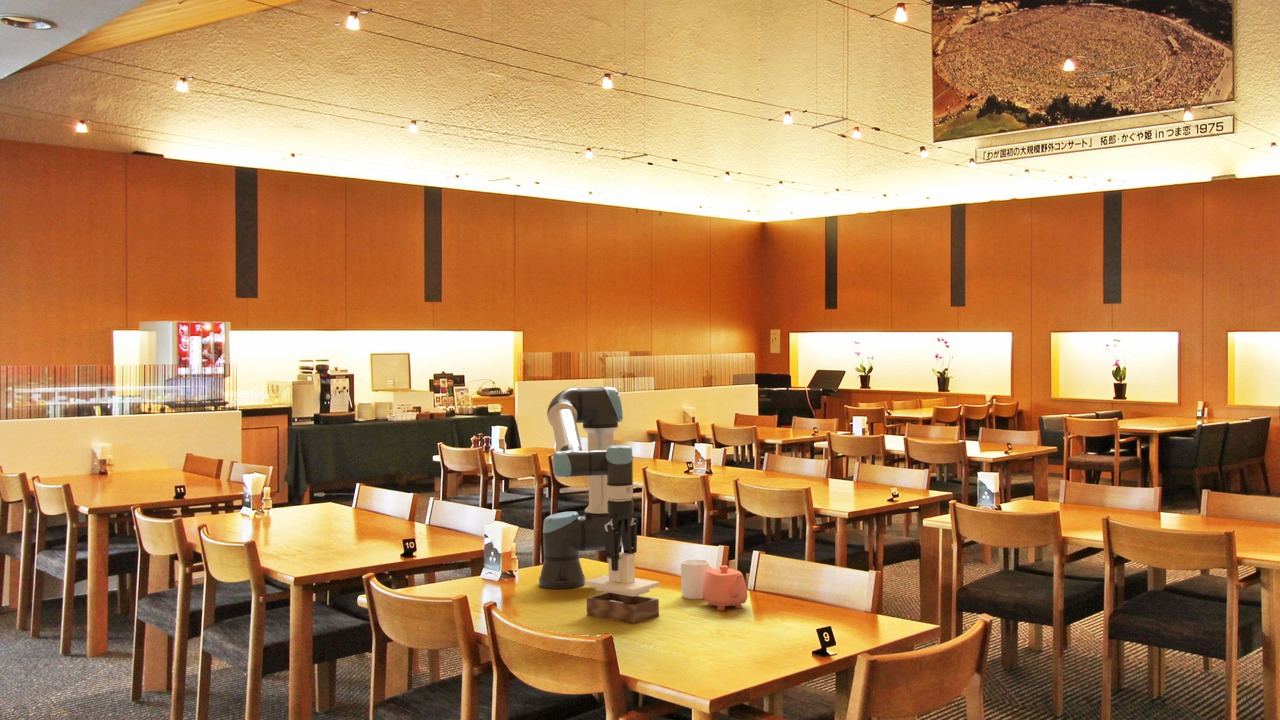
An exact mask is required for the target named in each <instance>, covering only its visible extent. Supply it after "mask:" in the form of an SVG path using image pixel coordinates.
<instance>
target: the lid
mask: <svg viewBox="0 0 1280 720" xmlns="http://www.w3.org/2000/svg"><path fill="white" fill-rule="evenodd" d="M635 554H636V553H633V554H629V553H624V551H623V552H621V551H620V552H619V559H621V582H615V581H613V570H612V567H611V566H612V565H611V559H609V558H607V559H608V560H607V561H608V574H605V575H602V576H599V577H594V578H592V579H588V580H585V584H584V586H588V587H593V588H594V590H595V591H598V592H599V591H600V592H603V593H606V592H610V593H615V594H621V595H626V596H631V597H634V596H637V595H639V596H641V595H643V594H646V593H649V592H650V590H652V589H654V588H657V587H658V588H659V587H660V584H661V583H660V582H661V581H656V580H649V579H645V578H638V577H636V562H635V561H636V559H635V557H636V556H635Z"/></svg>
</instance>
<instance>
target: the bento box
mask: <svg viewBox="0 0 1280 720" xmlns="http://www.w3.org/2000/svg"><path fill="white" fill-rule="evenodd" d="M659 602H660V600H659V598H655V597H650V596H643V595H637V596H634V597H631V596H626V595H621V594H615V593H610V592H603V593H600V594H596V595H593V596H592V595H591V596H587V597H586V616H590V617H596V618H601V619H606V620H610V621H616V622H621V623H626V624H631V625H636V624H638V623H639V624H640V623H643V622H645V621H650V620H652V619H655V618H658V617H660V609H659V608H660V603H659Z"/></svg>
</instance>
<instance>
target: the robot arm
mask: <svg viewBox="0 0 1280 720" xmlns="http://www.w3.org/2000/svg"><path fill="white" fill-rule="evenodd" d="M551 399H552V400H551V401H550V403H549V404H548V407H547V411H546V415H547V420H548V423H549V424H550V426H551V427H552V431H553V436H554V441H555V446H556V451H555V452H554V453H552V472H553V475H554V476H555V477H559V478H560V477H562V478H571V477H588V505H587V507H586V508H584V515H579V513H578V511H563V512H557V513H553V514H550V515H548V516H546V517H545V518H544V520H543V527H542V528H543V529H542V533H543V564H542V567H541V572H540V575H539V577H538V585H539V586H540V587H541V588H545V589H553V590H554V589H555V590H556V589H557V590H558V589H559V590H560V589H561V590H563V589H574V588H579V587H582V586H585V581H586V577H585V574H584V572H583V568H582V564H581V562H580V552H594V551H595V552H596V551H597V552H598V551H605V558H607V559H608V558H609V559H611V565H612V566H611V567H612V570H613V581H615V582H621V559H619V552H621V551H620V549H621V546H622V549H623V553H629V554H637V551H638V549H637V548H638V546H637V545H638V525H639V519H638V518H634V517H633V516H632V514H633V512H634V500H633V498H634V480H633V479H634V478H633V477H634V476H633V474H634V472H633V467H634V466H633V465H634V464H633V463H634V462H633V461H634V460H633V459H634V456H633V449H632V447H631V446H630V445H626V444H620V445H619V444H618V445H617V444H615V445H614V442H615V440H614V439H615V438H614V437H615V436H614V432H615V431H616V430H617V429H618V427H619V423H620V422H622V421H623V419H624V418H623V407H622V401H621V397H620V394H619V391H618V389H617V388H615V387H614V386H613V387H611V386H593V387H592V386H590V387H568V388H567V389H564V390H562V391H560V392H559V393H557V394H556V395H555V396H554V397H553V398H551ZM577 424H582V429H583V430H584V431H585V432H586V434H587V450H583V447H582V443H581V438H580V433H579V429H578V425H577Z"/></svg>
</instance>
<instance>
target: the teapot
mask: <svg viewBox="0 0 1280 720" xmlns="http://www.w3.org/2000/svg"><path fill="white" fill-rule="evenodd" d="M702 596H703V598H704V601H705V602H706V603H707V607H715V606H717V608H716V610H717V611H719V612H721V611H725V610H726V607H731V606H733V607H734V608H736V609H743V606H742V604H745V603H746V602H747V600H748V589H747V585H746V580H745V577H744V574H743V572H742V571H740V570H737V569H733V568H730V567H729V566H728V565H726V564H725V565H723V564H722V565H720V566H719V567H718V568H713V569H709V570H707V571H706V574H705V577H704V581H703V586H702Z"/></svg>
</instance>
